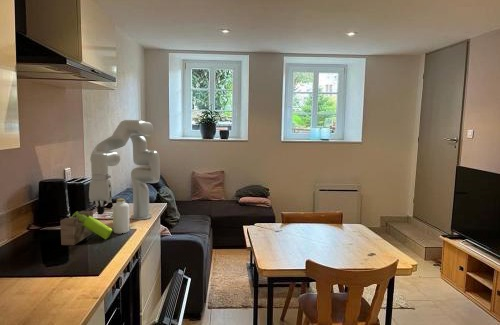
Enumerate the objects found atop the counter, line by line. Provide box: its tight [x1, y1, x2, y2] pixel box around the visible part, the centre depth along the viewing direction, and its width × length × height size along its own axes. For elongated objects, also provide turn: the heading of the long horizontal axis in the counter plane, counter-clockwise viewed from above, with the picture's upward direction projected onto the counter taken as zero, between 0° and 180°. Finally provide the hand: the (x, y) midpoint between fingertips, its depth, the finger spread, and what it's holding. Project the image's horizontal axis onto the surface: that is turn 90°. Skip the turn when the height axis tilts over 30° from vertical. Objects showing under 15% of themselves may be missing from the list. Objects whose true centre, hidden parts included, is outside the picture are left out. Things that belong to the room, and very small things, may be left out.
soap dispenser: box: [70, 210, 113, 240], centre depth 181 cm, size 6×7×20 cm
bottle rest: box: [59, 210, 94, 246], centre depth 181 cm, size 20×6×12 cm, turn 178°
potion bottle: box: [112, 198, 130, 235], centre depth 193 cm, size 8×8×18 cm
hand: (100, 213), depth 180 cm, fingers closed
